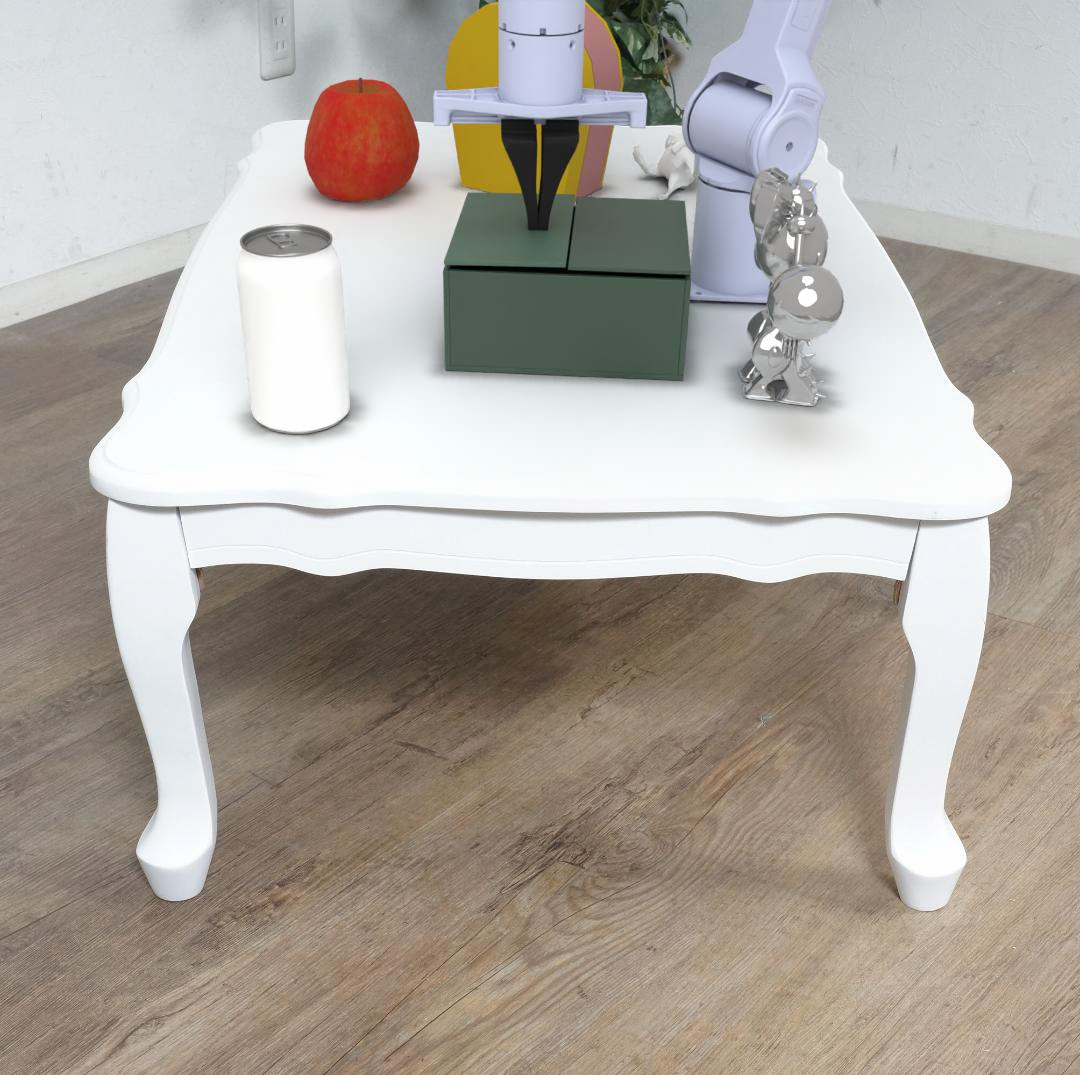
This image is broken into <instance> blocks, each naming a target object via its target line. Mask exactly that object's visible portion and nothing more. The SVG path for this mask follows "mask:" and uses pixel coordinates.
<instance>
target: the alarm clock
mask: <svg viewBox="0 0 1080 1075" xmlns="http://www.w3.org/2000/svg"><path fill="white" fill-rule="evenodd" d="M498 5H499V0H498V1H495V2H490V3H488V4H485V5H483V6H482V7H480V8H479V9H478V10H476V11H475V12H473V13H472V14H471V15H469V16H468V17H467V18H464V19H463V21H462V22H461V24H460V26H459V27H458V29H457V31H456V33H455V35H454V37H453V38H452V40H451V42H450V44H449V46H448V52H447V53H448V54H447V61H446V66H445V67H446V68H445V74H444V80H445V86H446V90H465V89H477V88H490V87H499V25H498ZM624 85H625V84H624V77H623V67H622V58H621V51H620V48H619V46H618V44H617V43H616V40H615V38H614V36H613V34H612V32H611V29H610V27H609V25H608V23H607V21H606V20H605V19H604V18H603V17H602V16H601V15H600V14H599V13H598V12H597V11H596V10H595V9H594V8H593V7H592V6H591V5H590V4H589V3H588V2H587V1H586V0H585V21H584V51H583V79H582V88H587V89H597V90H607V91H617V92H623V90H624V89H623V88H624ZM451 126H452V131H453V138H454V144H455V150H456V157H457V164H458V170H459V176H460V184H461V187H465V188H468V189H469V188H470V189H474V190H478V191H483V192H486V193H522V191H521V188H520V184H519V181H518V179H517V176H516V173H515V171H514V168H513V166H512V163H511V161H510V159H509V157H508V154H507V152H506V150H505V148H504V145H503V143H502V140H501V124H457V123H451ZM536 127H537V144H538V147H537V178H536V192H537V194H539V188H540V178H541V124H536ZM614 129H615V125H579V134H580V137H579V143H578V145H577V148H576V151H575V153H574V154H573V156H572V158H571V160H570V162H569V164H568V166H567V168H566V170H565V172H564V174H563V177H562V179H561V181H560V184H559V187H558V189H557V192H556V194H575V201H574V202H576V200H577V197H587V196H588V195H590V194H593V193H594V192H596V191H598V190H600V189H602V187H603V183H604V178H605V173H606V169H607V163H608V159H609V154H610V148H611V143H612V139H613V135H614Z"/></svg>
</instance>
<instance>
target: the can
mask: <svg viewBox="0 0 1080 1075" xmlns="http://www.w3.org/2000/svg"><path fill="white" fill-rule="evenodd" d="M333 240H334V238H333V235H332V234H331V232H330V231H328V230H327V229H324V228H322V227H319V226H316V225H311V224H304V223H278V224H277V223H276V224H271V225H265V226H260V227H257V228H254V229H251V230H249V231H247V232H246V233H244V234H242V235H241V237H240V240H239V244H240V247H241V249H240V252H239V254H238V257H237V260H236V264H235V273H236V286H237V293H238V294H237V295H238V303H239V312H240V313H239V314H240V322H241V332H242V340H243V342H242V343H243V350H244V351H243V352H244V358H245V367H246V368H245V369H246V376H247V385H248V392H249V393H248V395H249V401H250V409H251V410H250V411H251V414H252V416H253V418H254V419H255V420H256V421H257V422H258V423H259V424H260V425H261V426H262V427H264V428H265V429H268V430H270V431H273V432H276V433H281V434H286V435H287V434H288V435H289V434H290V435H307V434H314V433H318V432H321V431H324V430H328V429H330V428H332V427H334V426H336V425H338V424H339V423H340V422H342V421H343V419H344V418H345V417H346V416H347V414H348V413H349V411H350V408H351V396H350V394H351V393H350V380H349V379H350V378H349V360H348V346H347V331H346V329H347V328H346V316H345V299H344V285H343V272H342V264H341V259H340V256H339V254H338V252H337V251H336V249H335V247H334V245H333V243H332V242H333Z"/></svg>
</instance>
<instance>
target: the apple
mask: <svg viewBox="0 0 1080 1075" xmlns="http://www.w3.org/2000/svg"><path fill="white" fill-rule="evenodd" d="M420 147H421V144H420V139H419V133H418V128H417V127H416V124H415V121H414V118H413V115H412V114H411V111H410V109H409V107H408V104H407V103H406V101H405V100H404V99H403V97H402V96H401V94H400V93H399V91H397V90H396V89H395V87H393V86H392V85H391V84H389V83H387V82H385V81H383V80H378V79H371V78H370V79H367V78H366V79H363V78H362V77H359V78H358V79H347V80H343V81H341V82H337V83H333V84H331V85H329V86H328V87H326V88H324V90H322V91H321V92H320V94H319V96H318V98H317V99H316V102H315V104H314V106H313V109H312V112H311V115H310V119H309V122H308V125H307V129H306V134H305V139H304V150H303V151H304V153H303V156H304V157H303V159H304V163H305V166H306V171H307V173H308V175H309V178H310V179H311V181H312V183H313V184H314V186H315V188H316V190H318V192H319V193H320V194H321V195H322V196H325V197H327V198H330V199H333V200H334V201H335V200H336V201H340V202H343V203H360V202H367V201H368V202H369V201H373V200H379V199H383V198H385V197H389V196H390V195H393V194H395V193H397V192H398V191H400V190H401V189H403V188H404V187H405V186H407V184H408V183H409V181H410V180H411V179H412V177H413V174H414V171H415V168H416V166H417V164H418V161H419V157H420Z"/></svg>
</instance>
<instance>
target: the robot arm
mask: <svg viewBox="0 0 1080 1075" xmlns="http://www.w3.org/2000/svg"><path fill="white" fill-rule="evenodd" d="M498 1H499V5H498V25H499V87H490V88H477V89H465V90H447V89H445V90H443V89H441V90H437V89H436V90H434V91H433V97H432V106H433V126H434V127H449V126H450V125H451V124H452V123H457V124H501V140H502V143H503V145H504V148H505V150H506V152H507V154H508V157H509V159H510V161H511V163H512V166H513V168H514V171H515V173H516V176H517V179H518V181H519V184H520V188H521V191H522V194H523V198H524V202H525V206H526V212H527V218H528V230H537V231H547V230H548V225H549V218H550V213H551V209H552V205H553V202H554V198H555V195H556V192H557V189H558V187H559V184H560V181H561V179H562V177H563V174H564V172H565V170H566V168H567V166H568V164H569V162H570V160H571V158H572V156H573V154H574V153H575V151H576V148H577V145H578V143H579V137H580V134H579V125H614V126H629V128H631V129H646V126H647V113H648V99H647V96H646V93H645V92H630V91H622V92H617V91H607V90H597V89H587V88H582V79H583V51H584V21H585V1H586V0H498ZM832 3H833V0H753V2H752V6H751V8H750V11H749V14H748V17H747V19H746V23H745V26H744V28H743V32H742V34H741V36H740V38H739V39H737V40H736V41H735V42H733V43H732V44H730V45H728V46H727V47H725V48H724V49H722V50H721V51H719V53H717V54H716V55H714V56H712V57H713V58H711V60H710V61H711V62H710V63H709V66H708V69H707V72H706V75H705V77H704V78H703V80H702V81H701V83H700V84H699V85H698V86H697V88H696V89H695V91H693V93H692V94H691V96H690V98H689V99H688V101H687V103H686V105H685V108H684V111H683V115H682V120H681V134H682V135H683V138H684V141H685V144H686V145H687V147H688V149H689V150H690V151H691V152H692V153H693V154H695V161H694V168H695V169H697V170H698V174H697V175H698V176H697V184H696V196H695V197H696V198H695V208H694V209H695V210H694V222H693V232H692V245H691V246H692V247H691V255H690V265H691V292H690V301H706V302H707V301H709V302H710V301H711V302H732V303H753V304H754V303H757V304H758V303H759V304H767V297H768V291H769V285H770V280H769V279H768V278H767V277H766V276H765V275H764V273H763V271H762V270H760V269H759V268H758V267H757V265H756V263H755V259H754V246H755V242H756V237H755V232H754V225H753V223H752V221H751V217H750V212H749V202H750V196H751V191H752V186H753V183H754V181H755V179H756V178H757V176H758V174H759V173H760V172H761V171H763V170H766V169H769V168H773V167H777V168H779V169H780V170H781V171H783V172H784V173H786V174H787V175H789V177H788V182H789V183H790V184H792V185H793V186H794V185H795V183H796V182H797V179H798V175H799V172H800V177H801V176H802V175H803V174H804V173H805V172H806V171H807V169H808V167H809V166H810V165H811V163H812V161H813V159H814V156H815V154H816V151H817V147H818V142H819V131H820V130H819V129H820V128H819V125H820V120H821V119H820V118H821V114H822V110H823V107H824V104H825V102H826V99H827V94H826V91H825V89H824V86H823V84H822V83H821V81H820V79H819V77H818V75H817V72H816V71H815V69H814V66H813V64H812V57H813V55H814V52H815V49H816V46H817V44H818V41H819V39H820V35H821V33H822V30H823V28H824V25H825V22H826V19H827V16H828V14H829V11H830V8H831V5H832ZM761 86H765V87H767V89H769V90H770V93H771V94H769V93H767V92H764V91H761V90H760V89H759V90H758V89H756V88H758V87H761ZM536 124H541V178H540V188H539V198H538V206H537V192H536V178H537V147H538V144H537V127H536ZM815 183H816V182H815V181H814V180H811V179H803V178H801V186H804V187H806V188H808V189H809V188H810V187H812V186H813V185H814V184H815ZM812 194H813V195H814V201H815V204H816V205H817V187H815V188H814V190H813V192H812Z"/></svg>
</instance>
